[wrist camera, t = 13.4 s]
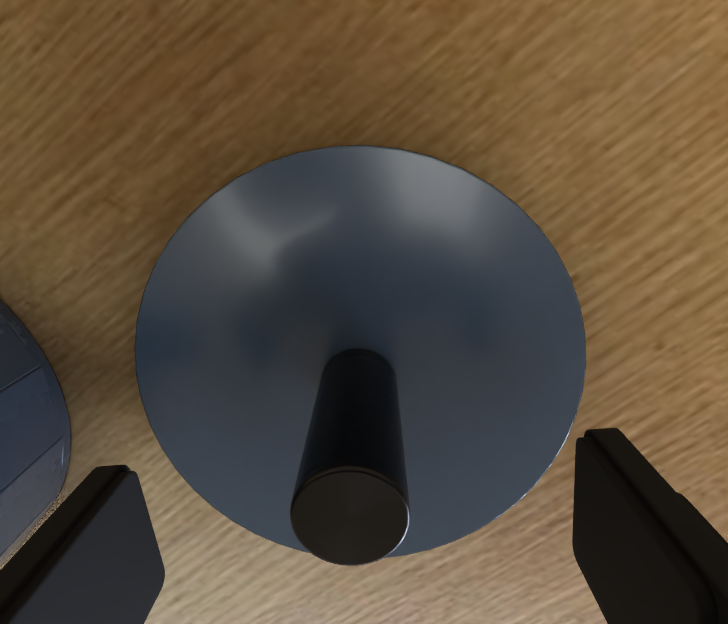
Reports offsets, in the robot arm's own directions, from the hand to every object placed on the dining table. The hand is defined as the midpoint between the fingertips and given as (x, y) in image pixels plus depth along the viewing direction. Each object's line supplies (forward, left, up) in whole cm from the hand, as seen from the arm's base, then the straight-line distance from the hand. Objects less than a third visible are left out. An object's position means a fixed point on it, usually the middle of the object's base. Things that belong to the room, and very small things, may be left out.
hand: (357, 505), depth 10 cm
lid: (0, 0, -6) cm, 6 cm away
